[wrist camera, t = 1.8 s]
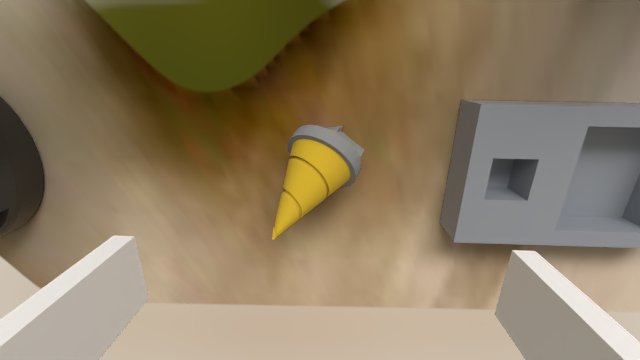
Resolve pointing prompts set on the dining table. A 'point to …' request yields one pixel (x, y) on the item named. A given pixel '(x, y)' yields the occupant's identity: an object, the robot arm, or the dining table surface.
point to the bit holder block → (545, 174)
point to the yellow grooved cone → (315, 171)
